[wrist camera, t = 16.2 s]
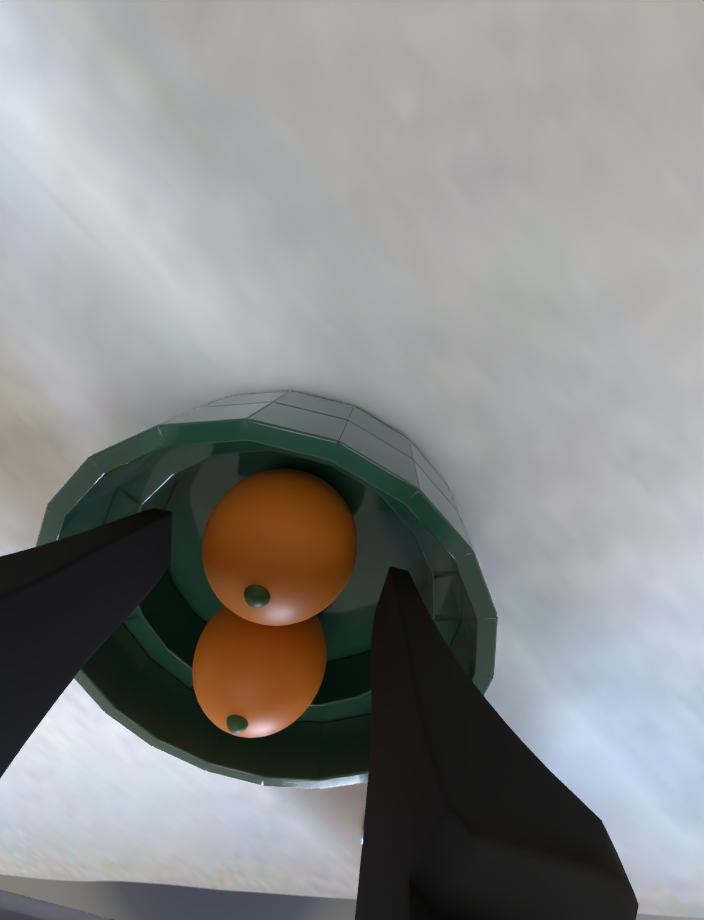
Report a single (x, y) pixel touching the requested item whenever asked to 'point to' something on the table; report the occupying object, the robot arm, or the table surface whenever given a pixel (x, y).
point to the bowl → (194, 603)
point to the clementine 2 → (257, 672)
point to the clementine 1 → (279, 547)
